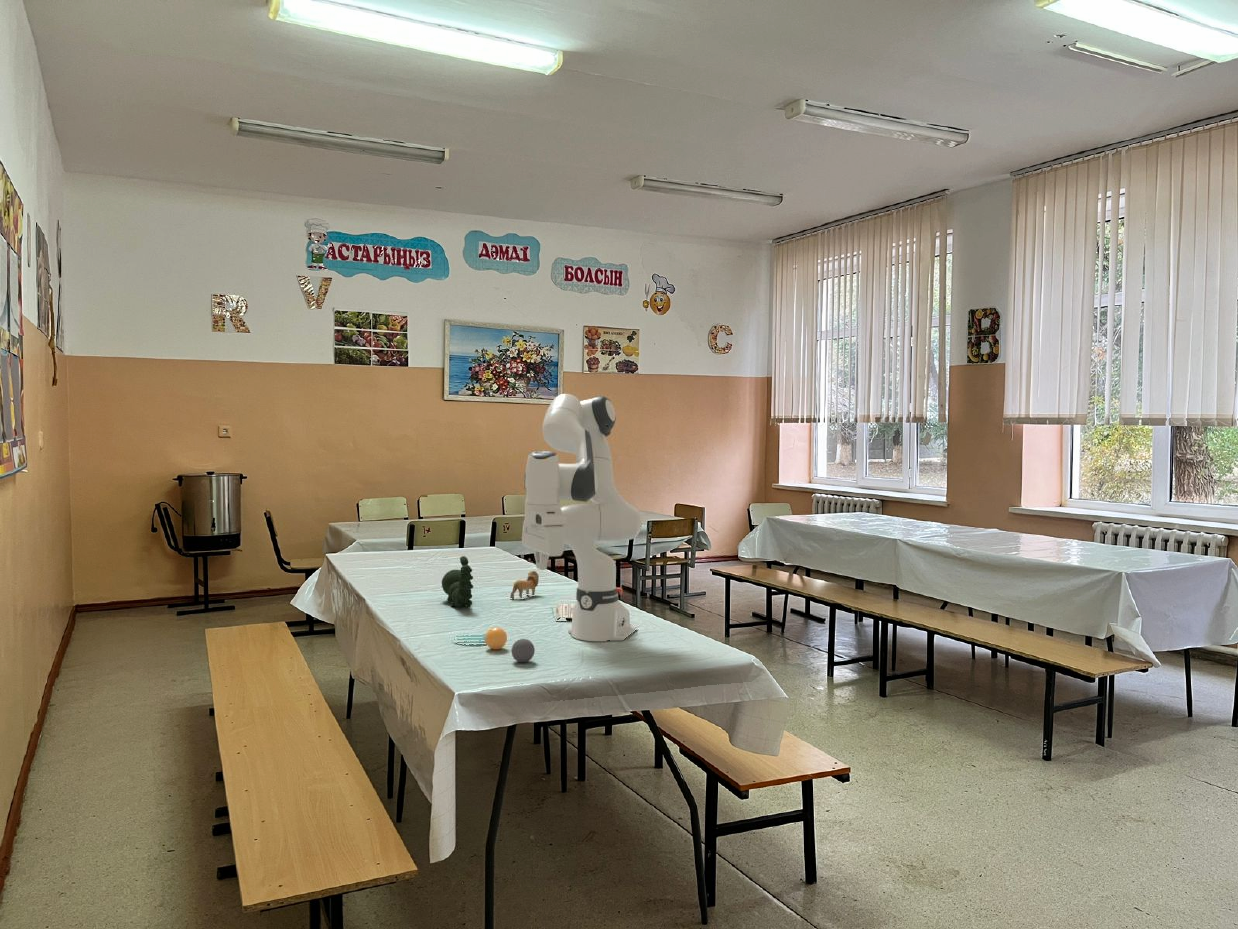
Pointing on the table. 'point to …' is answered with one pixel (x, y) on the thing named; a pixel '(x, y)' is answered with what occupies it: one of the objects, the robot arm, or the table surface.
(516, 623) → the table surface
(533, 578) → the lion figurine
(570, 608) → the newspaper
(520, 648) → the dark grey ball
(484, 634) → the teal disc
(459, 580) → the toy figurine
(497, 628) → the orange ball
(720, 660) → the table surface
